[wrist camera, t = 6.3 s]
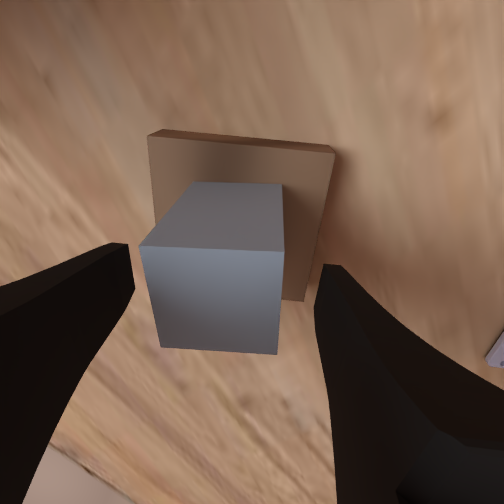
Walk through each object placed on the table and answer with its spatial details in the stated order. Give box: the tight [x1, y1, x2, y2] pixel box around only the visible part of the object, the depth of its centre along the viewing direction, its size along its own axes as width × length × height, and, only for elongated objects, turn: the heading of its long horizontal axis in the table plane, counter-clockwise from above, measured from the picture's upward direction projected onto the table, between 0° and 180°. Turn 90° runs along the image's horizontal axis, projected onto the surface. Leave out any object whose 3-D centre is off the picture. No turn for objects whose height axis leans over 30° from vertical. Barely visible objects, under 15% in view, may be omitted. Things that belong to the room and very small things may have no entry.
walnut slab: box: [147, 129, 335, 302], centre depth 15 cm, size 8×8×2 cm
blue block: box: [139, 182, 284, 355], centre depth 11 cm, size 4×4×6 cm
